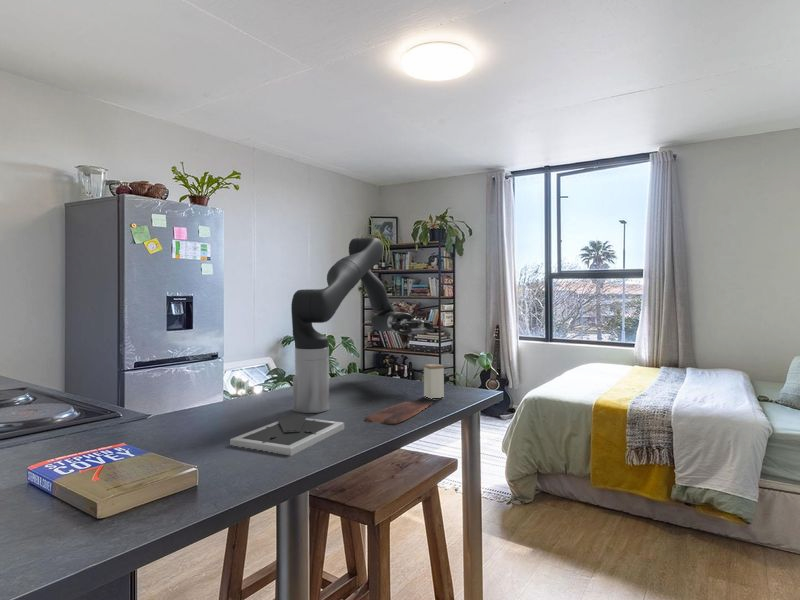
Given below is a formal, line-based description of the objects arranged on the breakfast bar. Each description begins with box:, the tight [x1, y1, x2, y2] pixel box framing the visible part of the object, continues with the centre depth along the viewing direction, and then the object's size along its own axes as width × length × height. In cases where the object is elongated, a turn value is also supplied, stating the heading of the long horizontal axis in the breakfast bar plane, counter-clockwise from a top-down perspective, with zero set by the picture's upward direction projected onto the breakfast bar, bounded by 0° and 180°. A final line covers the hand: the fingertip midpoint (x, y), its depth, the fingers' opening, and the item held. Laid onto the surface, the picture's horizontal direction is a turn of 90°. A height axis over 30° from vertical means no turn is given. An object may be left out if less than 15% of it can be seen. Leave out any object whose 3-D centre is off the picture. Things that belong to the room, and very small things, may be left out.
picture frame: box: [229, 412, 345, 456], centre depth 110 cm, size 16×3×21 cm
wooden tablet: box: [364, 400, 434, 426], centre depth 132 cm, size 26×2×10 cm
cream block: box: [423, 363, 445, 399], centre depth 149 cm, size 5×5×10 cm
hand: (419, 327), depth 158 cm, fingers open, 8 cm apart
